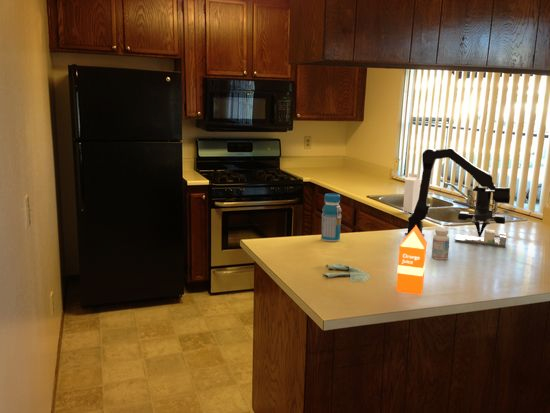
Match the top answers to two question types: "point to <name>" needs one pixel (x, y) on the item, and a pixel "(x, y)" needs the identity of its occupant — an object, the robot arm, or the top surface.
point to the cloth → (354, 273)
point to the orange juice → (411, 263)
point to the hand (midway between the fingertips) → (479, 236)
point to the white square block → (490, 235)
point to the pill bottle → (440, 244)
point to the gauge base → (482, 240)
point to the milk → (411, 192)
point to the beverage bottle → (331, 218)
